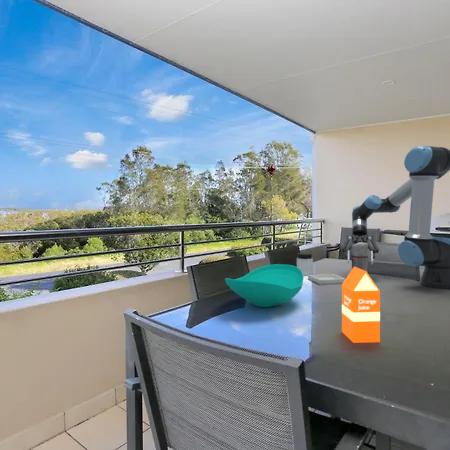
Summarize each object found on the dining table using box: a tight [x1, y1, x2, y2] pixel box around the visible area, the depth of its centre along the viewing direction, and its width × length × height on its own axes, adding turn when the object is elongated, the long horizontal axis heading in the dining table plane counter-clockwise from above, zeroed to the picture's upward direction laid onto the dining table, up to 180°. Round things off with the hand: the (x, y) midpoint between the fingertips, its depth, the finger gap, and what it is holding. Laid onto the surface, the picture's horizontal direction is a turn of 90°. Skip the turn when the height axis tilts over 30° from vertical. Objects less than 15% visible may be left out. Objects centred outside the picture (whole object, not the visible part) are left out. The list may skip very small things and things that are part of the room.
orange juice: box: [341, 267, 381, 344], centre depth 101 cm, size 8×9×20 cm
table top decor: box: [224, 263, 305, 308], centre depth 137 cm, size 40×28×13 cm
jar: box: [296, 252, 314, 277], centre depth 199 cm, size 9×8×12 cm
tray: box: [307, 273, 346, 286], centre depth 179 cm, size 14×14×2 cm
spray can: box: [350, 242, 369, 275], centre depth 178 cm, size 8×8×20 cm
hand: (360, 262), depth 176 cm, fingers open, 10 cm apart
